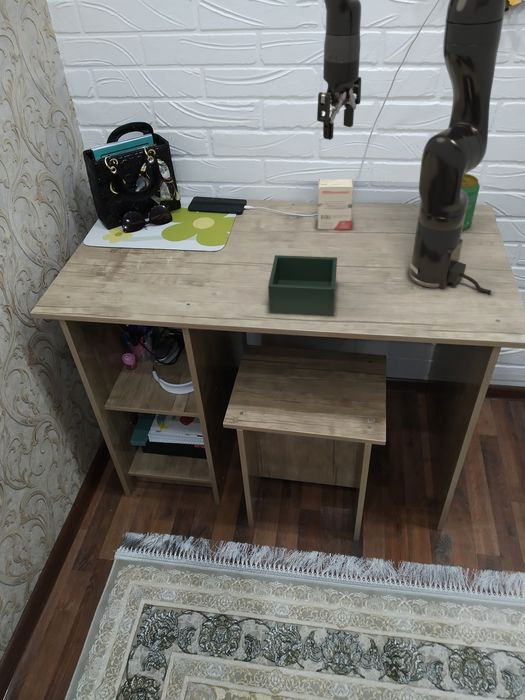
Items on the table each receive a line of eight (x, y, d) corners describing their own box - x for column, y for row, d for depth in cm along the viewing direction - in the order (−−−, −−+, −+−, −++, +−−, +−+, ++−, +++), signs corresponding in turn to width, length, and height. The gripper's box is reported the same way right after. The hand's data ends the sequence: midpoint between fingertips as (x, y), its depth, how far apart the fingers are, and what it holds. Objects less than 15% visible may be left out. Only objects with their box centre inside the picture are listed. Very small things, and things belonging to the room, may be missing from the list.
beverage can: (462, 214, 148) (471, 170, 140) (476, 230, 142) (486, 185, 134) (433, 218, 147) (440, 174, 139) (445, 234, 141) (454, 189, 133)
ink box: (351, 220, 148) (354, 177, 140) (351, 230, 145) (354, 187, 137) (317, 220, 149) (318, 177, 141) (317, 230, 146) (318, 187, 138)
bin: (335, 283, 128) (337, 257, 124) (333, 316, 120) (334, 289, 115) (275, 281, 130) (274, 255, 125) (269, 312, 122) (268, 286, 117)
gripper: (338, 67, 114) (335, 146, 125) (374, 49, 122) (368, 125, 133) (307, 62, 117) (307, 139, 128) (344, 44, 126) (341, 119, 136)
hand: (338, 132), depth 131 cm, fingers open, 8 cm apart
